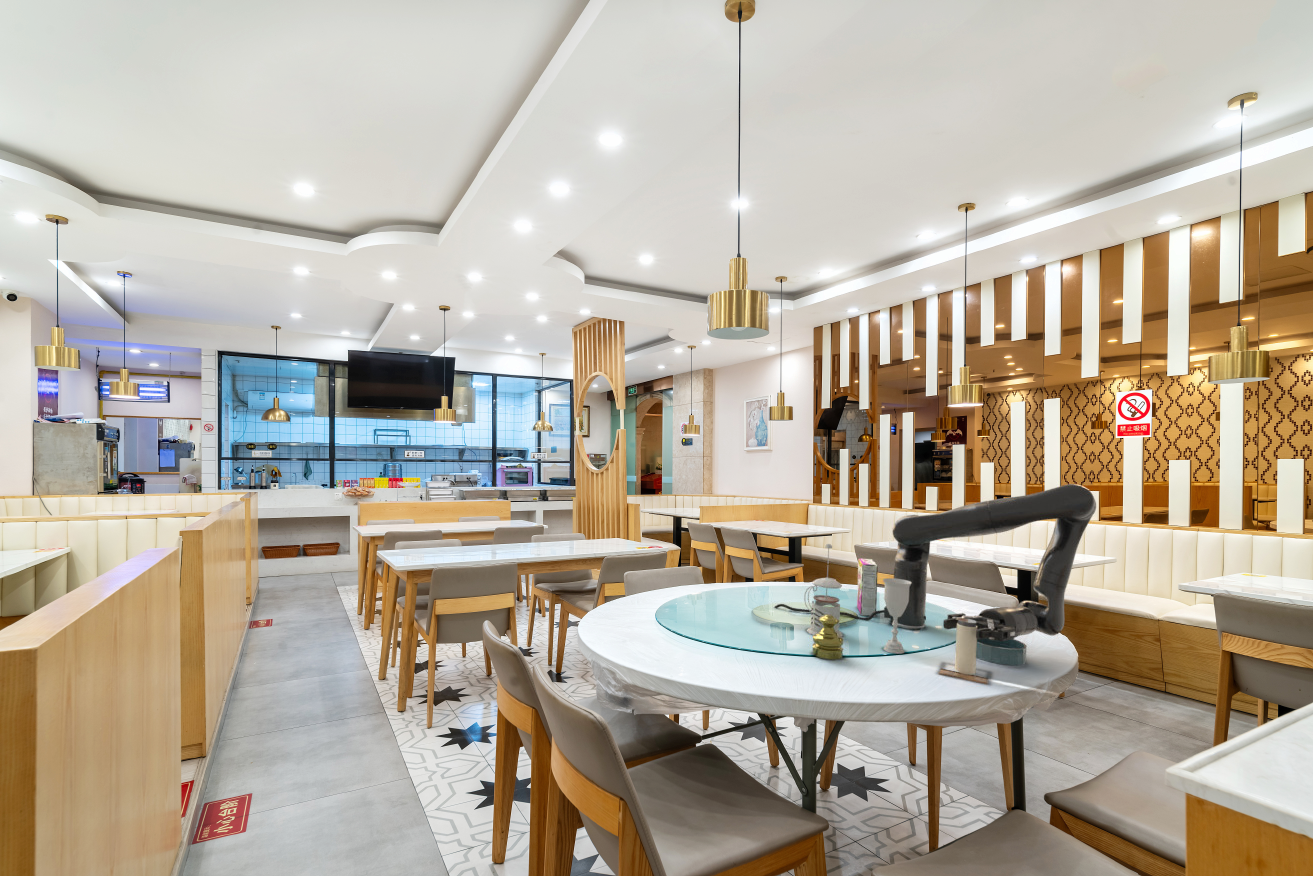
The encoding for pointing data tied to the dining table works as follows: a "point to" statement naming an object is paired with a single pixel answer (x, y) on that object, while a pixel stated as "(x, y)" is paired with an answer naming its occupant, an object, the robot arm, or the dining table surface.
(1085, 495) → the robot arm
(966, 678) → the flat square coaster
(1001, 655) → the bowl
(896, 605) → the chalice
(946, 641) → the dining table surface
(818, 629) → the french press
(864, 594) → the candy bar box
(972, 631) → the cream shaker
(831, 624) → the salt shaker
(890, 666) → the dining table surface
